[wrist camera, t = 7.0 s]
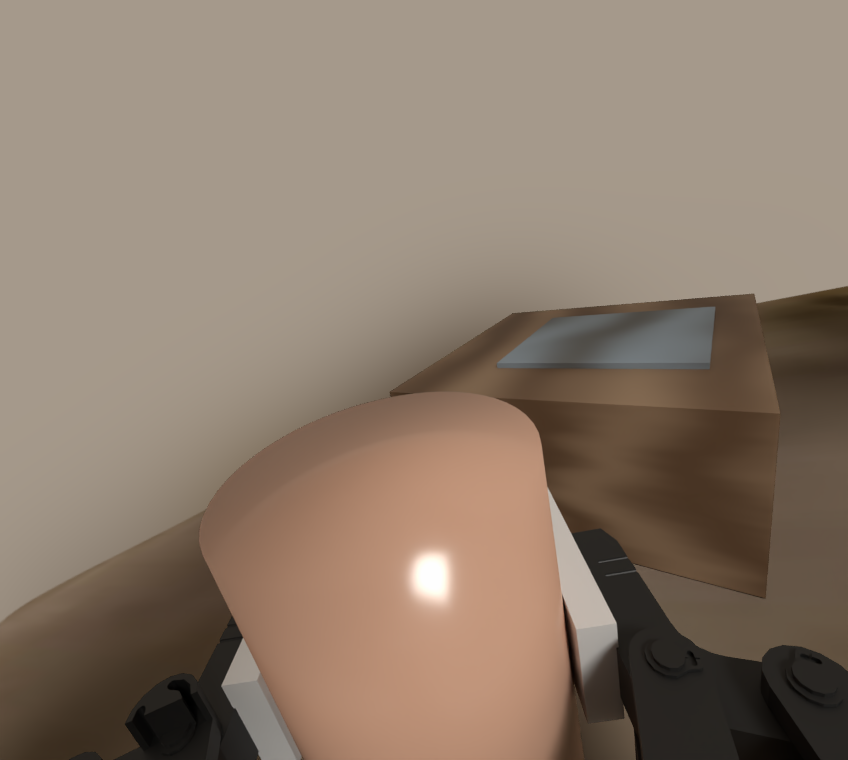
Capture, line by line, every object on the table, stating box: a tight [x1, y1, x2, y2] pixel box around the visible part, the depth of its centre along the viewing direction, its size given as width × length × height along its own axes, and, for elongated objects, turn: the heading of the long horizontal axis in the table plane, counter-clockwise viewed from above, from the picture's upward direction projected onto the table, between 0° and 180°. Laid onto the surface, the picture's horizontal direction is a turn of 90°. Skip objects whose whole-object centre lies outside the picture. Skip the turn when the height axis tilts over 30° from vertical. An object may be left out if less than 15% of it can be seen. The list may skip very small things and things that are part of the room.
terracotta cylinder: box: [199, 392, 584, 760], centre depth 10 cm, size 6×6×11 cm
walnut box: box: [390, 294, 780, 598], centre depth 26 cm, size 17×18×8 cm
